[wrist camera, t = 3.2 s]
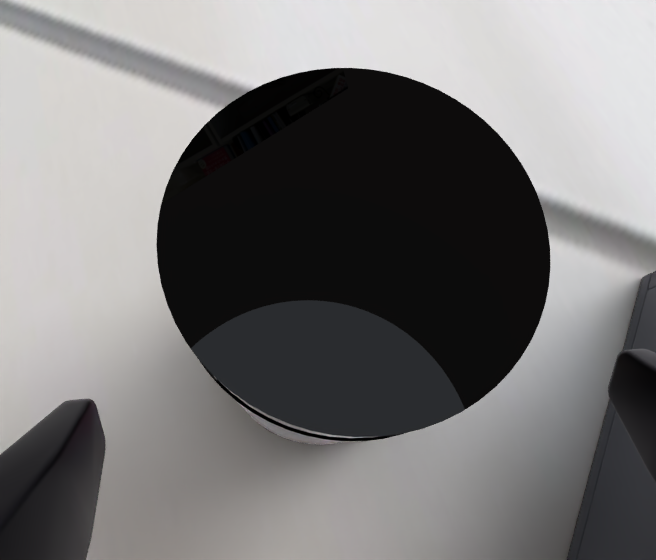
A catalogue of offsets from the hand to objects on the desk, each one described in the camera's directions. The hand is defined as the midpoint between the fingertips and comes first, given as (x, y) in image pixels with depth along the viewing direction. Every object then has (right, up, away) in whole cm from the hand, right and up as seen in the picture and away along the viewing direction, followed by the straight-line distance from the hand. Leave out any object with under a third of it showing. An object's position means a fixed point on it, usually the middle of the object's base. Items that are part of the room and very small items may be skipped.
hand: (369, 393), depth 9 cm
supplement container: (-1, -1, +10) cm, 10 cm away
